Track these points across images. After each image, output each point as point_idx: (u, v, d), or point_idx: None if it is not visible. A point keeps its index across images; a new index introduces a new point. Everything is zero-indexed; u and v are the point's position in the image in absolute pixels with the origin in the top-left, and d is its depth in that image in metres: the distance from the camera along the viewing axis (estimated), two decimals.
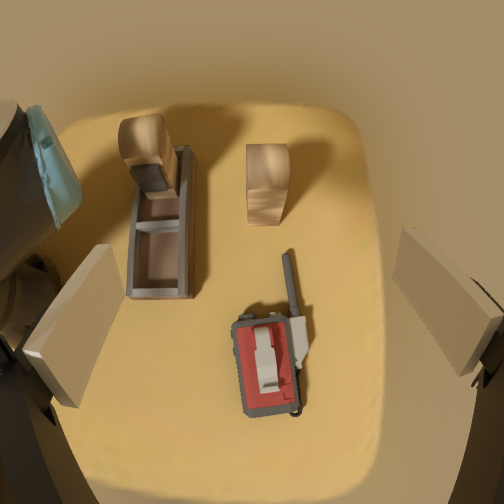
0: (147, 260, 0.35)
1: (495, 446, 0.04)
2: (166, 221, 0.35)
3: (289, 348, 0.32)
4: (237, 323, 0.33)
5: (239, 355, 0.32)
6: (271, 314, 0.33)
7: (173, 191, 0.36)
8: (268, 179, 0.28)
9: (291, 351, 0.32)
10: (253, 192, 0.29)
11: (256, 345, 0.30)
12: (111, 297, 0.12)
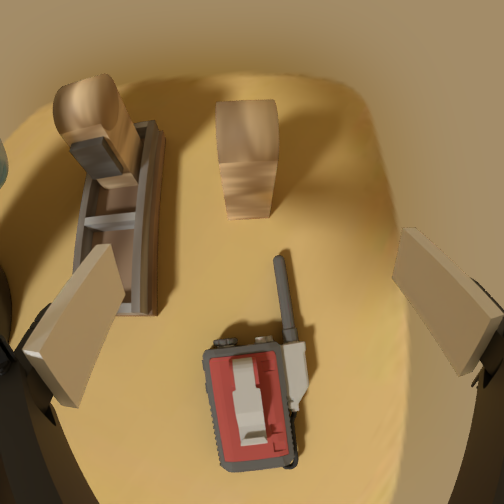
0: None
1: (495, 445, 0.04)
2: (120, 214, 0.25)
3: (282, 386, 0.22)
4: (210, 352, 0.23)
5: (213, 394, 0.22)
6: (257, 340, 0.24)
7: (131, 176, 0.27)
8: (247, 146, 0.18)
9: (284, 390, 0.22)
10: (227, 167, 0.20)
11: (235, 384, 0.21)
12: (111, 297, 0.12)
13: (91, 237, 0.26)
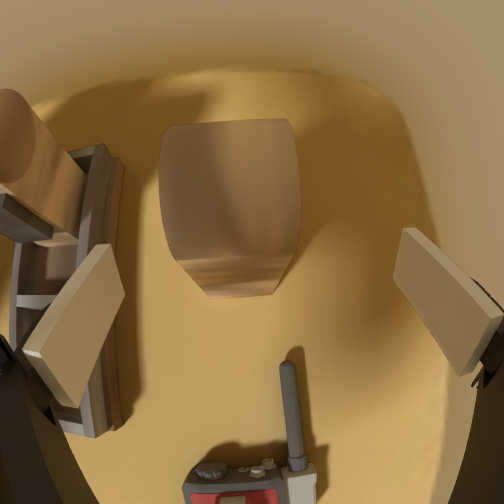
0: None
1: (495, 446, 0.04)
2: None
3: None
4: (191, 486, 0.14)
5: None
6: (254, 473, 0.14)
7: (69, 235, 0.17)
8: (230, 233, 0.09)
9: None
10: (194, 263, 0.10)
11: None
12: (111, 297, 0.12)
13: (30, 318, 0.17)
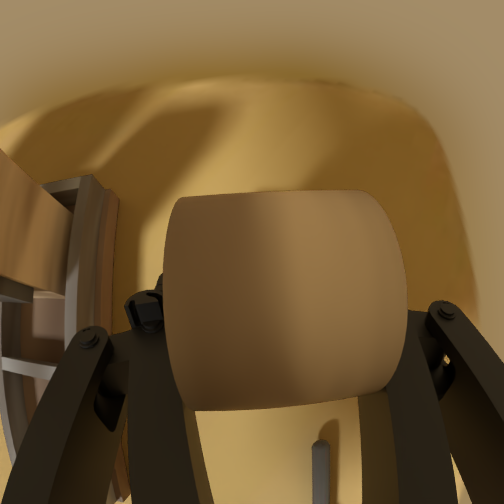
0: None
1: (386, 453, 0.04)
2: (45, 367, 0.12)
3: None
4: None
5: None
6: None
7: (54, 293, 0.13)
8: (287, 399, 0.05)
9: None
10: None
11: None
12: None
13: (19, 378, 0.13)
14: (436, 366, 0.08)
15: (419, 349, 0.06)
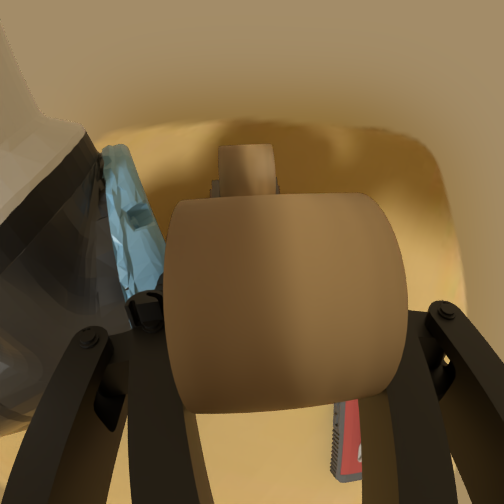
0: None
1: (386, 453, 0.04)
2: None
3: None
4: None
5: (344, 424, 0.26)
6: None
7: None
8: (287, 402, 0.05)
9: None
10: None
11: None
12: None
13: None
14: (436, 366, 0.08)
15: (419, 349, 0.06)
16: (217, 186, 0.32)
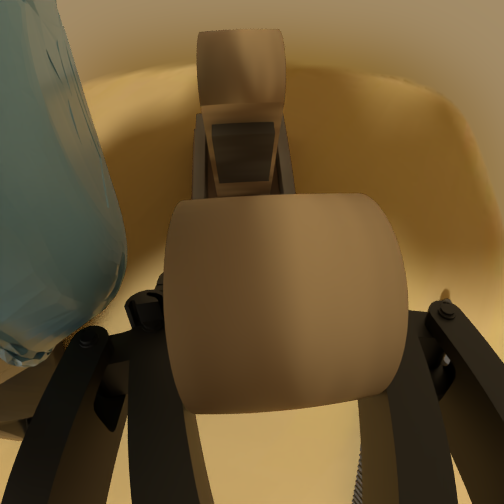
0: None
1: (386, 453, 0.04)
2: None
3: None
4: None
5: None
6: None
7: (269, 183, 0.21)
8: (288, 403, 0.05)
9: None
10: None
11: None
12: None
13: None
14: (436, 366, 0.08)
15: (419, 349, 0.06)
16: (203, 120, 0.22)
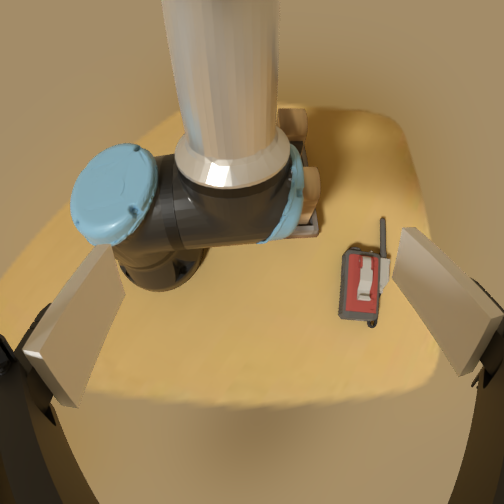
0: None
1: (495, 446, 0.04)
2: None
3: (378, 276, 0.47)
4: (350, 251, 0.48)
5: (348, 272, 0.47)
6: (370, 252, 0.48)
7: None
8: (305, 193, 0.39)
9: (379, 278, 0.47)
10: None
11: (362, 265, 0.45)
12: (111, 297, 0.12)
13: None
14: None
15: None
16: None
